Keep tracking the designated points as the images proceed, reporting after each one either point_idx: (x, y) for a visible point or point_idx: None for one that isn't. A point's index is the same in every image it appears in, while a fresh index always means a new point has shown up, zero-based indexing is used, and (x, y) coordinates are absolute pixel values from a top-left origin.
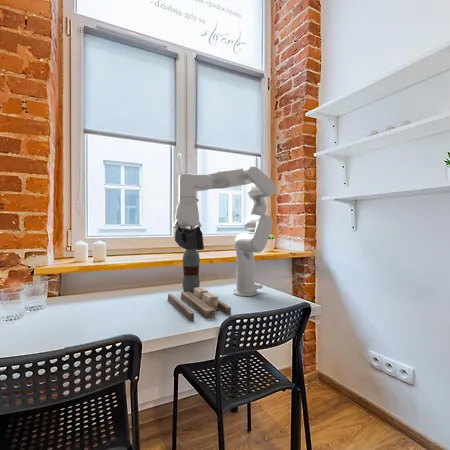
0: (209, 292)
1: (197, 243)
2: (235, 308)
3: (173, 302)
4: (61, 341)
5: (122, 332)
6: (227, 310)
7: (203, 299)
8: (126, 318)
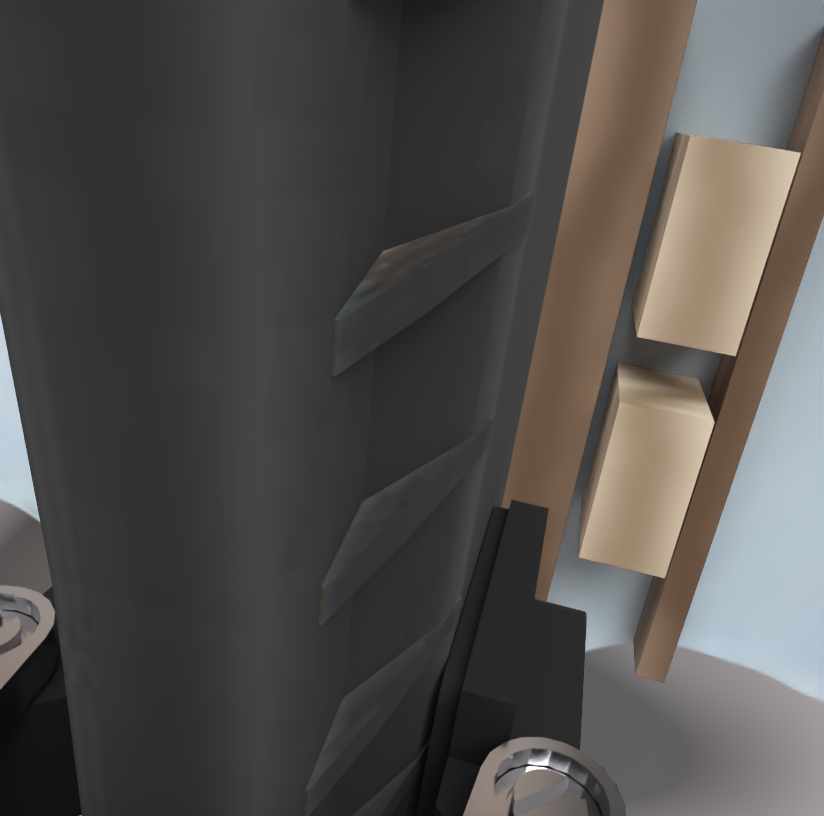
0: (698, 426)
1: None
2: (804, 574)
3: None
4: None
5: (7, 482)
6: (635, 661)
7: (610, 414)
8: None
